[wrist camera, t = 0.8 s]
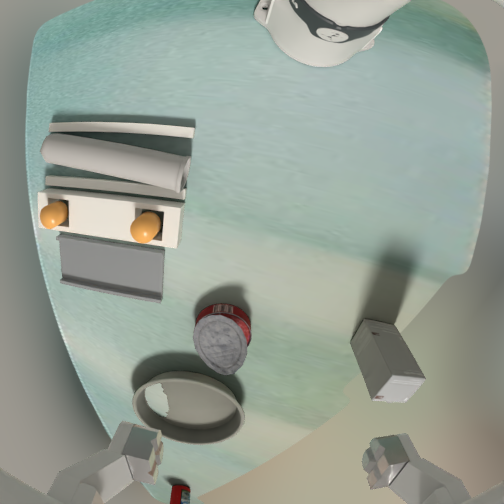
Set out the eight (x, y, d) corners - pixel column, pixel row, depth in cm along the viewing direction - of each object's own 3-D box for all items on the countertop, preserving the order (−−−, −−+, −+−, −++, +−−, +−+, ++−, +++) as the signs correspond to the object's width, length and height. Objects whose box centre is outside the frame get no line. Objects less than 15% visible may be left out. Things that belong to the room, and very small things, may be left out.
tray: (60, 233, 44) (56, 236, 42) (164, 250, 46) (162, 253, 44) (64, 279, 47) (60, 283, 46) (162, 298, 49) (160, 303, 48)
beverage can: (192, 490, 79) (190, 516, 68) (175, 489, 79) (172, 515, 68) (188, 484, 77) (185, 511, 66) (169, 483, 77) (166, 510, 66)
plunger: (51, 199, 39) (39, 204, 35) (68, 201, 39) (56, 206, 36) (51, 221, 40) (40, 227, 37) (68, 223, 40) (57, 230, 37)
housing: (53, 122, 37) (42, 122, 34) (195, 128, 39) (191, 127, 36) (49, 221, 43) (38, 227, 40) (181, 240, 45) (176, 248, 42)
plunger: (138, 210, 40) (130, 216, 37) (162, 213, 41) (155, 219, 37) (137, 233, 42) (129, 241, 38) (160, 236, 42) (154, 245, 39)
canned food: (214, 332, 58) (187, 367, 50) (203, 291, 53) (171, 326, 45) (267, 344, 53) (243, 385, 45) (260, 302, 48) (233, 343, 40)
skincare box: (394, 324, 53) (431, 375, 39) (378, 351, 56) (408, 404, 41) (362, 316, 52) (396, 372, 37) (345, 345, 55) (372, 404, 40)
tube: (36, 168, 36) (177, 199, 39) (34, 137, 33) (183, 164, 36) (54, 154, 40) (187, 182, 43) (53, 126, 37) (193, 150, 40)
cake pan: (189, 345, 53) (186, 361, 49) (266, 408, 61) (267, 423, 57) (116, 389, 58) (111, 403, 54) (190, 440, 65) (188, 453, 61)
